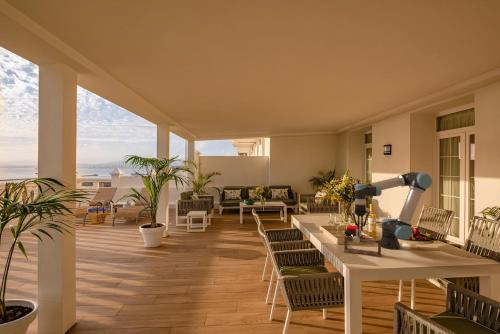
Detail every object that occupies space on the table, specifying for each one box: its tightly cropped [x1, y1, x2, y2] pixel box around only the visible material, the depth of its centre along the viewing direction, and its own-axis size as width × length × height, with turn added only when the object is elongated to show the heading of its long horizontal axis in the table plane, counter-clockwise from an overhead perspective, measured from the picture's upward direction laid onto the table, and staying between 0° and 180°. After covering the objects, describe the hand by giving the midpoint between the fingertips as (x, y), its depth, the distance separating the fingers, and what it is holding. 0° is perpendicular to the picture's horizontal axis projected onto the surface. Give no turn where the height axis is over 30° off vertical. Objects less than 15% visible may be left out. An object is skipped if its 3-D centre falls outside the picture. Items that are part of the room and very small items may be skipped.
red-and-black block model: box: [344, 224, 363, 238], centre depth 270 cm, size 15×8×25 cm
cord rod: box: [347, 236, 378, 244], centre depth 226 cm, size 24×3×3 cm, turn 67°
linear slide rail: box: [343, 235, 382, 258], centre depth 226 cm, size 26×8×12 cm, turn 67°
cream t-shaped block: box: [353, 229, 361, 244], centre depth 227 cm, size 4×4×10 cm
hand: (360, 234), depth 226 cm, fingers closed
